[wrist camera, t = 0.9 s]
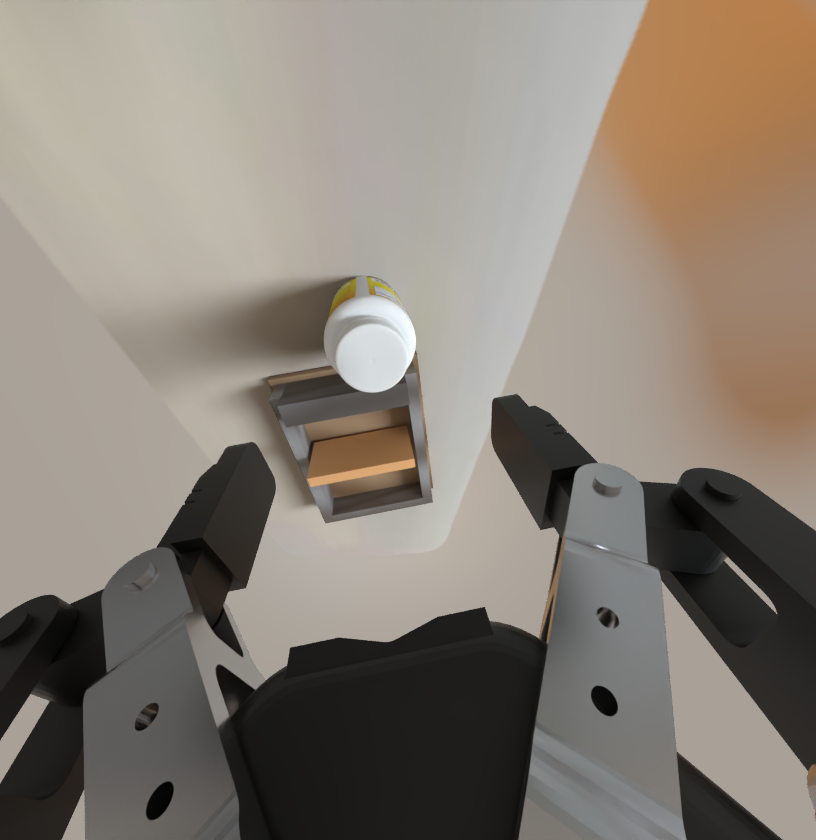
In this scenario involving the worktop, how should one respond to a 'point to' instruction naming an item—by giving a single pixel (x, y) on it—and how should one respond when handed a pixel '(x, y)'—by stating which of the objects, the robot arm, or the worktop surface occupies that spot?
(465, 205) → the worktop surface
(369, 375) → the supplement bottle
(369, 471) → the board
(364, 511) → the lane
